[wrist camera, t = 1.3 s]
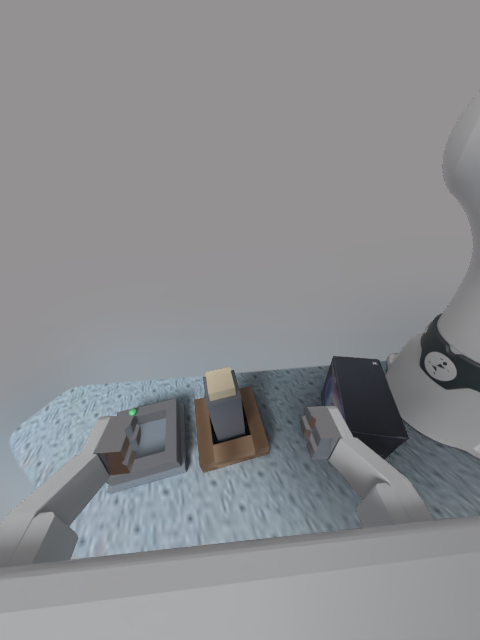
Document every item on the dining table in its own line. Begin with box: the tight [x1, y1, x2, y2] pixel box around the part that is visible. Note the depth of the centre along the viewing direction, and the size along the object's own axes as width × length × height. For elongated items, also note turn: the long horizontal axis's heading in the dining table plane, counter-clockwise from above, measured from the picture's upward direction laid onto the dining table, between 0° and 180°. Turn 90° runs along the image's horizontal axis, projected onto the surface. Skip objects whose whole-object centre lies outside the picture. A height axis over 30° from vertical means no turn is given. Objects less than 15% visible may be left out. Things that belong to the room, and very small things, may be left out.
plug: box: [203, 367, 246, 443], centre depth 29 cm, size 4×4×14 cm
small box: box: [321, 356, 409, 460], centre depth 30 cm, size 11×6×10 cm, turn 170°
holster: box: [195, 386, 269, 473], centre depth 33 cm, size 9×9×3 cm
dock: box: [106, 398, 187, 494], centre depth 32 cm, size 10×10×4 cm
